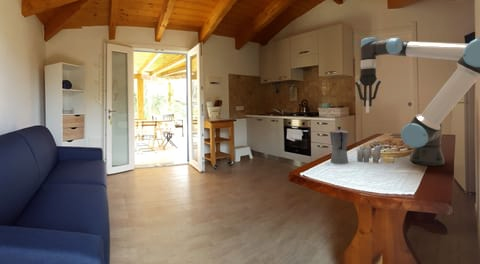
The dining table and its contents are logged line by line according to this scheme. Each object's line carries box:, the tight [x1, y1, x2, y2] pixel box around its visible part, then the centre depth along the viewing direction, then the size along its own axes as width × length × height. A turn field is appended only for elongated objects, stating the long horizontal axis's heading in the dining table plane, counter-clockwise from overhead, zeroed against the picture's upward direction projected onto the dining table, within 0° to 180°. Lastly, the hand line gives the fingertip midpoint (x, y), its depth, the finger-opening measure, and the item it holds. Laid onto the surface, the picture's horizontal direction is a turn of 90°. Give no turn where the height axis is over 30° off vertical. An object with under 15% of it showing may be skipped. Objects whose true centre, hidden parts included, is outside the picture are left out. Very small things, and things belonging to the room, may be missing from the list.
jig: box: [356, 145, 382, 164], centre depth 159 cm, size 11×12×7 cm
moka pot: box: [329, 126, 349, 165], centre depth 156 cm, size 10×15×20 cm, turn 174°
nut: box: [382, 156, 394, 163], centre depth 154 cm, size 5×5×3 cm
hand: (367, 112), depth 159 cm, fingers closed
